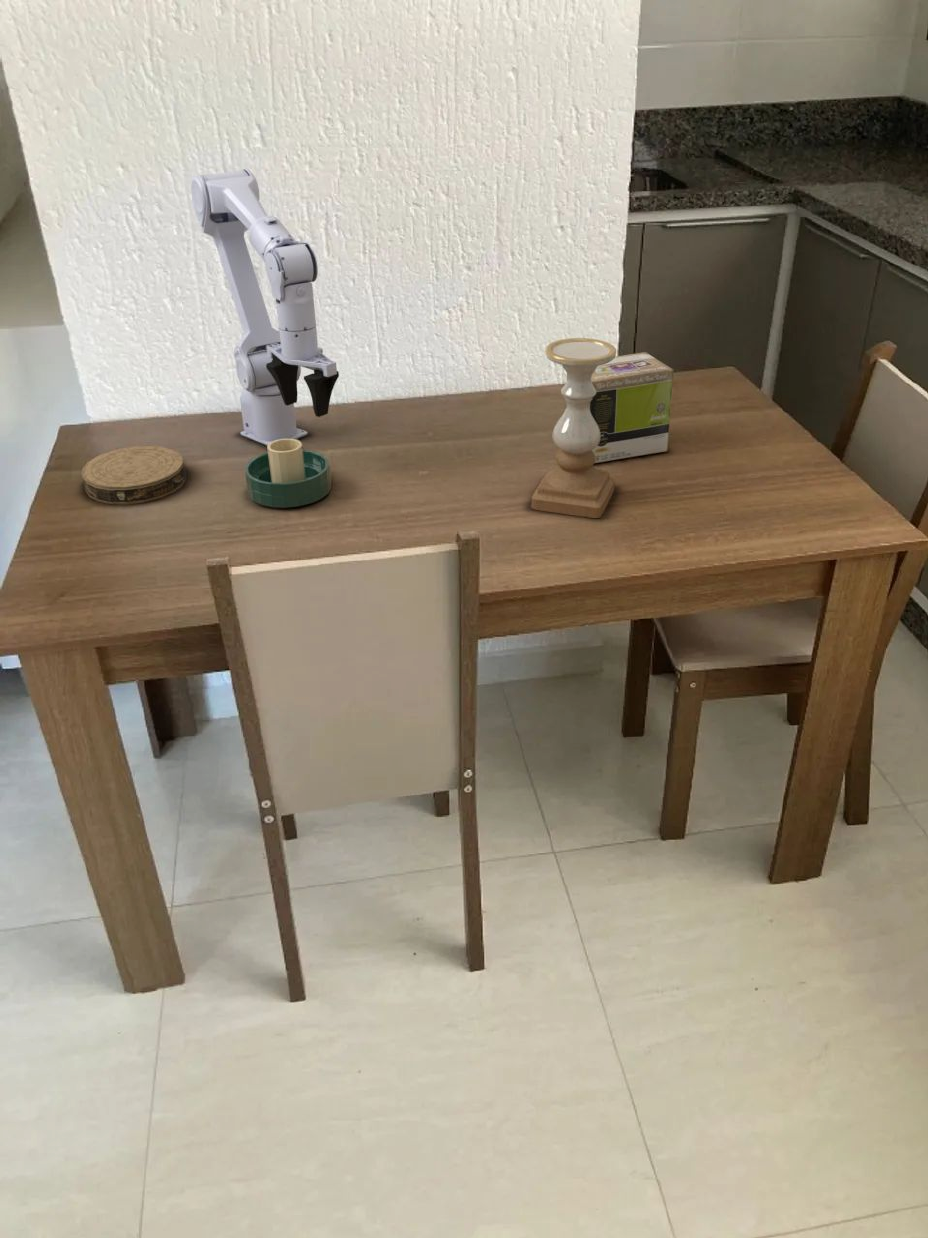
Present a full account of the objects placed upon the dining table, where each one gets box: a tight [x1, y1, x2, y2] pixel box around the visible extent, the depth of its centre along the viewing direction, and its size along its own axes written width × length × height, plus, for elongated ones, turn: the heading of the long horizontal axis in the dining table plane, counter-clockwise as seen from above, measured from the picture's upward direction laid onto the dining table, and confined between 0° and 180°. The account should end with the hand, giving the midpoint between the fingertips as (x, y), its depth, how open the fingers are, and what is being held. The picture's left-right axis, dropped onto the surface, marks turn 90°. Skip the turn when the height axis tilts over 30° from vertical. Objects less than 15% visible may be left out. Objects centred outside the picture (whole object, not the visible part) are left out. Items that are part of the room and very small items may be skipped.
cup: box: [266, 439, 306, 483], centre depth 160 cm, size 5×5×8 cm
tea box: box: [565, 351, 674, 464], centre depth 171 cm, size 15×10×15 cm, turn 108°
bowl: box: [244, 449, 332, 509], centre depth 162 cm, size 13×13×4 cm
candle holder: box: [530, 337, 617, 519], centre depth 153 cm, size 11×11×24 cm
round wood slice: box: [81, 445, 187, 505], centre depth 166 cm, size 16×16×3 cm
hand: (306, 409), depth 166 cm, fingers open, 7 cm apart
